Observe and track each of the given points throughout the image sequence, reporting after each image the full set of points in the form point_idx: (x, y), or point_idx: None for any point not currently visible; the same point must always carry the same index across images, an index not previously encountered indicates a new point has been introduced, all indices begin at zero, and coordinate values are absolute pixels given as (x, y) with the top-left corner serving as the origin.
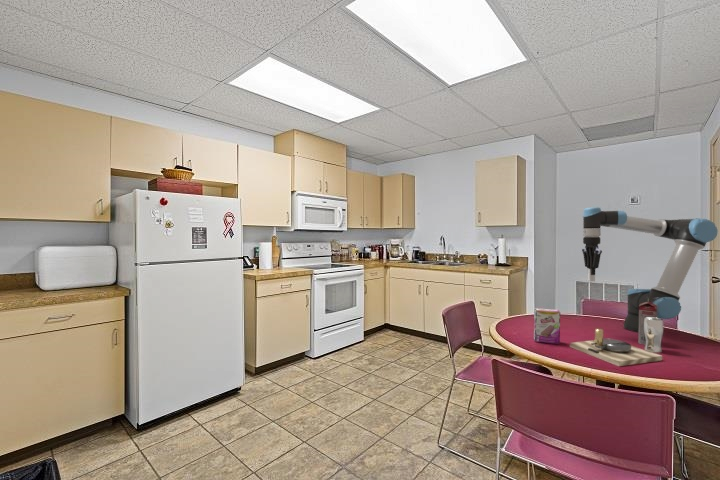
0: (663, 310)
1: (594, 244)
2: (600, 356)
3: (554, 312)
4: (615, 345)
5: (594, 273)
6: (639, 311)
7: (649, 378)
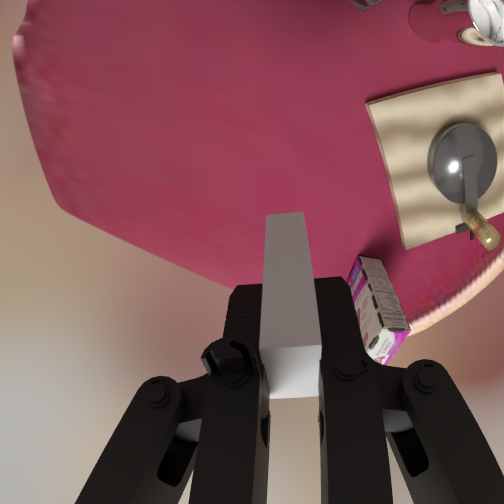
0: None
1: None
2: None
3: (402, 340)
4: (483, 178)
5: (349, 301)
6: None
7: None
